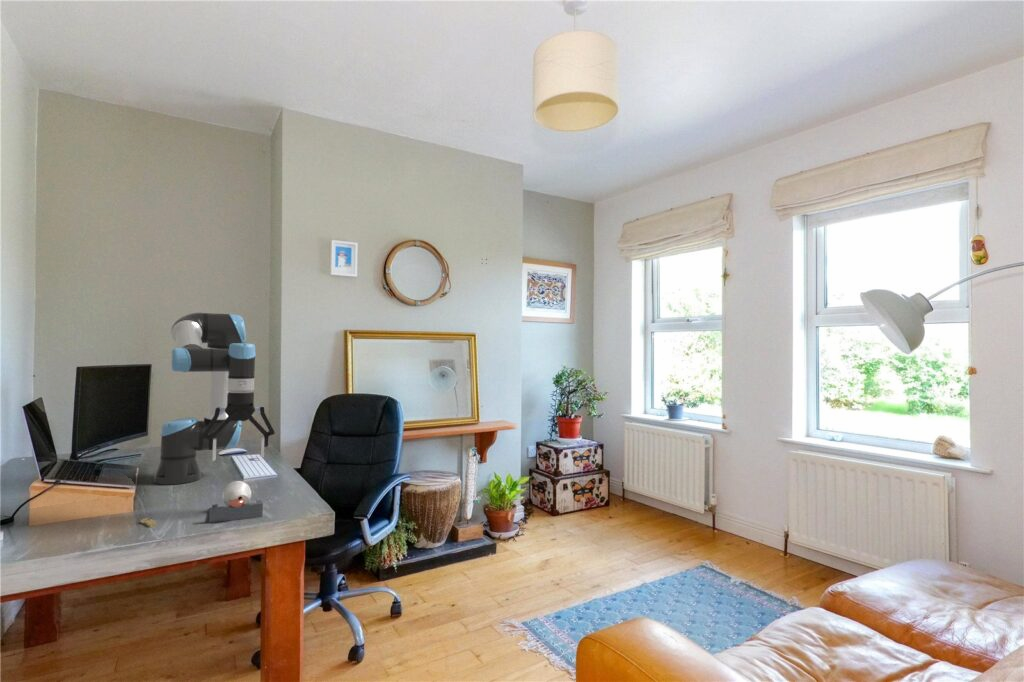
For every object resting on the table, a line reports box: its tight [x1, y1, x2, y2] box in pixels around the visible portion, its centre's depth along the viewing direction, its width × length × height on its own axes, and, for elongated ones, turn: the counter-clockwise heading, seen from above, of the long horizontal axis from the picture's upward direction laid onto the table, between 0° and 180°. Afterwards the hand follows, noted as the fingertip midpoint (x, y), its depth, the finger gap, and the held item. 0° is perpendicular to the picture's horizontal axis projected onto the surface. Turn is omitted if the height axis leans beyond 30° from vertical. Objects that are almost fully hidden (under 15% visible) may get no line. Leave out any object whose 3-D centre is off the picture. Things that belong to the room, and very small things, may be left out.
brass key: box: [140, 517, 158, 528], centre depth 149 cm, size 7×3×1 cm, turn 52°
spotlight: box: [221, 480, 252, 506], centre depth 162 cm, size 8×11×8 cm
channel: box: [208, 498, 264, 524], centre depth 160 cm, size 16×14×6 cm
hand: (238, 458), depth 164 cm, fingers open, 13 cm apart
